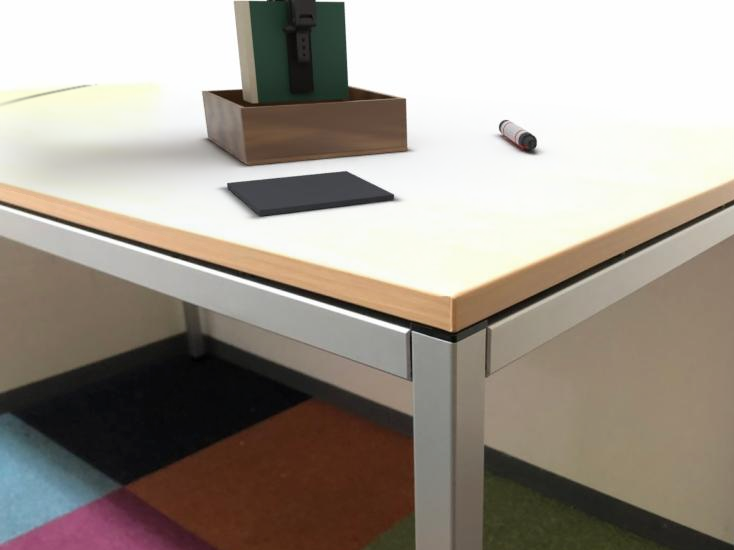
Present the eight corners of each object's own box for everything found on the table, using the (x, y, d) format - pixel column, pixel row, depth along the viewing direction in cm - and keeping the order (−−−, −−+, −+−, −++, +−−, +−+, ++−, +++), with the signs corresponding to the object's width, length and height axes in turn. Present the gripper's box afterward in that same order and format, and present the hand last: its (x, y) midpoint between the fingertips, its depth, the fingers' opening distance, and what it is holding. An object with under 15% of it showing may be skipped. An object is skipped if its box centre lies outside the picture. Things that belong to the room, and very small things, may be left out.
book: (243, 100, 90) (233, 0, 86) (337, 95, 96) (333, 2, 91) (251, 103, 87) (241, 0, 83) (349, 99, 92) (344, 1, 88)
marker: (498, 135, 100) (498, 119, 99) (512, 134, 100) (513, 119, 99) (525, 155, 86) (526, 137, 85) (542, 154, 86) (543, 136, 86)
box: (207, 138, 98) (201, 90, 96) (345, 128, 106) (343, 84, 104) (247, 165, 81) (240, 108, 78) (407, 150, 89) (406, 98, 87)
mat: (227, 188, 71) (226, 182, 70) (346, 175, 76) (346, 170, 75) (259, 216, 61) (259, 210, 61) (394, 199, 66) (394, 194, 66)
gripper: (339, -144, 76) (350, 95, 86) (291, -121, 90) (304, 83, 99) (267, -151, 73) (286, 98, 82) (228, -126, 87) (248, 85, 96)
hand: (296, 89), depth 91 cm, fingers closed on book, 4 cm apart
